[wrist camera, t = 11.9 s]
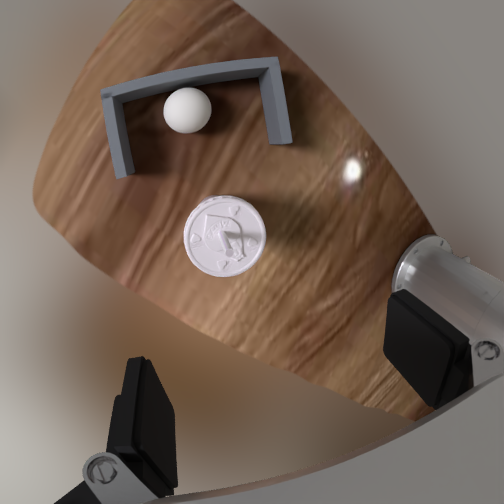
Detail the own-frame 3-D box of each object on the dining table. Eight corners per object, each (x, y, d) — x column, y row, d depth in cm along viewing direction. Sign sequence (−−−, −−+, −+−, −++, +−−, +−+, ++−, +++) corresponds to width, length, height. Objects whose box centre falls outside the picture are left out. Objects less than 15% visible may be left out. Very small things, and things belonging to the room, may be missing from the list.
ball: (215, 120, 24) (217, 128, 29) (202, 75, 23) (206, 89, 27) (165, 136, 24) (174, 141, 29) (153, 91, 23) (164, 102, 27)
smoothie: (221, 170, 31) (247, 187, 18) (256, 218, 33) (301, 266, 20) (172, 207, 31) (161, 252, 18) (208, 253, 33) (224, 321, 20)
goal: (265, 67, 28) (277, 56, 24) (278, 143, 31) (292, 142, 27) (111, 97, 26) (100, 89, 21) (126, 174, 29) (116, 179, 25)
